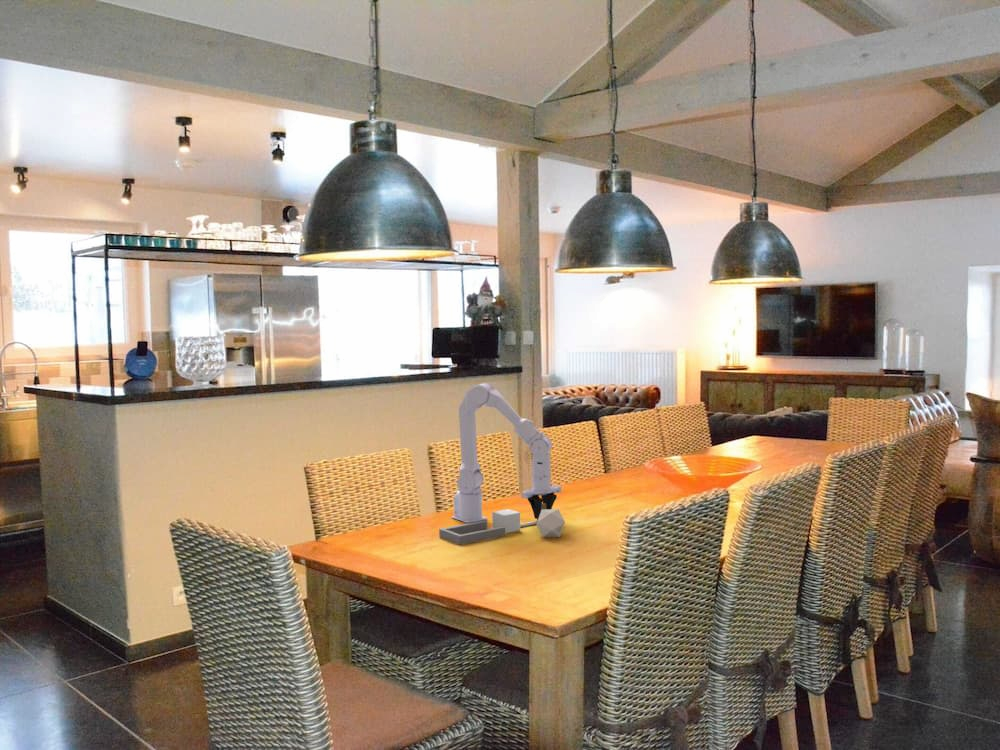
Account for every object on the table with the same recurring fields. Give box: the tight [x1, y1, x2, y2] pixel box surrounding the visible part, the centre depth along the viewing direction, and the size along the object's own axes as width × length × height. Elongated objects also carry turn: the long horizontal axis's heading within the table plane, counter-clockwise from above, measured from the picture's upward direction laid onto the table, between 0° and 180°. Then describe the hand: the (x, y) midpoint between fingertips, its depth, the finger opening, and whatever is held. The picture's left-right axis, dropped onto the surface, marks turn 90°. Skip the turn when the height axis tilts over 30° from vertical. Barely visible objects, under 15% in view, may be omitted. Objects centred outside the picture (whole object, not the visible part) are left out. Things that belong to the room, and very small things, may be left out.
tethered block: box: [491, 502, 546, 534], centre depth 270 cm, size 6×18×6 cm, turn 126°
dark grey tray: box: [438, 520, 506, 546], centre depth 259 cm, size 11×16×2 cm
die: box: [535, 508, 566, 538], centre depth 258 cm, size 8×9×10 cm
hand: (542, 517), depth 274 cm, fingers closed on tethered block, 3 cm apart
